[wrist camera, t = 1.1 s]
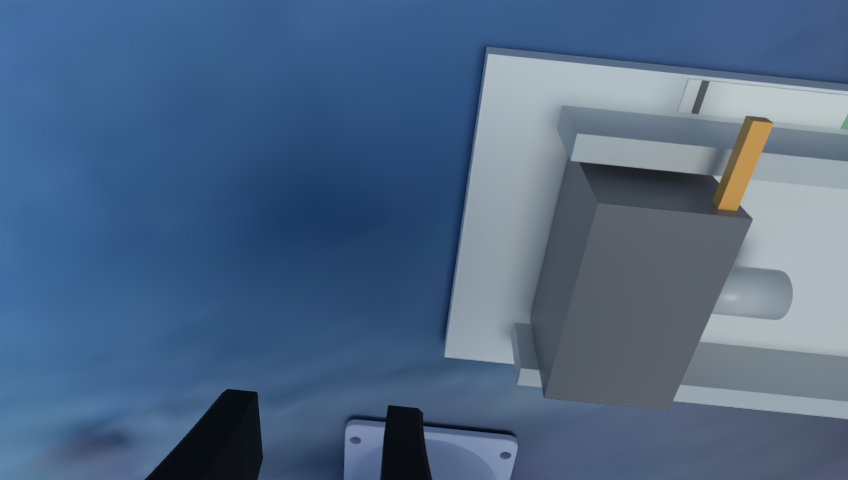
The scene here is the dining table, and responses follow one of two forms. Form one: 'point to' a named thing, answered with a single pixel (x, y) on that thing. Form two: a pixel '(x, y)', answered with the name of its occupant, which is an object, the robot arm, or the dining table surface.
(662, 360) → the block with orange peg
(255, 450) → the robot arm
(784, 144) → the gauge frame
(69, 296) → the dining table surface
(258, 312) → the dining table surface
